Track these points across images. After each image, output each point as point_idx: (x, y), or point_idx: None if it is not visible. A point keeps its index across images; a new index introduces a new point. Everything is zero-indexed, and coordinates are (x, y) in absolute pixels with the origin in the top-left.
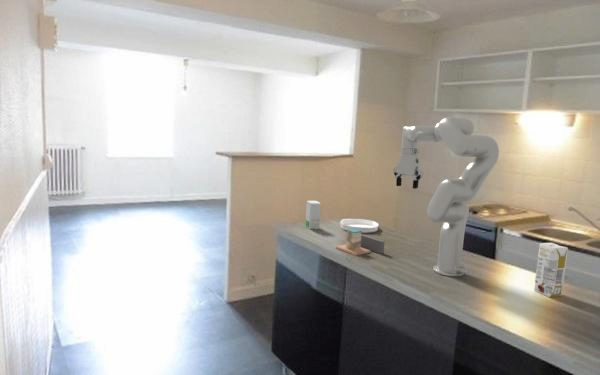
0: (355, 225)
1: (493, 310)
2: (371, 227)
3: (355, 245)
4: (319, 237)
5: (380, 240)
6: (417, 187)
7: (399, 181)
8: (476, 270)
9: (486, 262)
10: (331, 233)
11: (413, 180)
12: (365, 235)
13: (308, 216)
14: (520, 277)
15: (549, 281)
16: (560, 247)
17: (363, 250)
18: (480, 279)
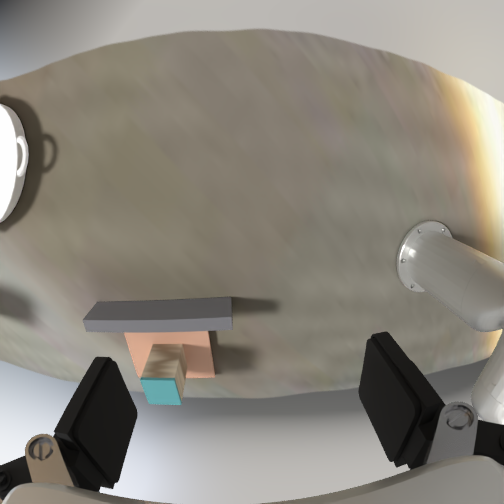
0: None
1: None
2: (21, 167)
3: (184, 369)
4: (44, 341)
5: (218, 323)
6: (388, 337)
7: (111, 430)
8: (453, 182)
9: (434, 93)
10: (14, 287)
11: (396, 464)
12: (143, 322)
13: None
14: (500, 146)
15: None
16: None
17: (198, 345)
18: (473, 233)
